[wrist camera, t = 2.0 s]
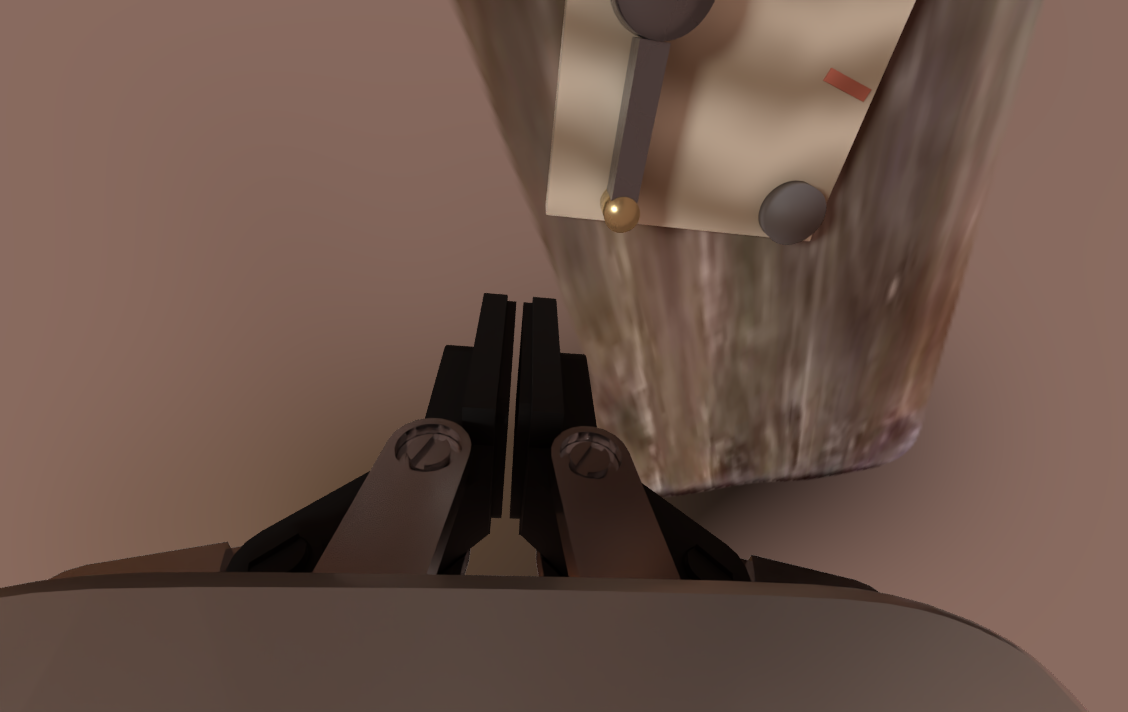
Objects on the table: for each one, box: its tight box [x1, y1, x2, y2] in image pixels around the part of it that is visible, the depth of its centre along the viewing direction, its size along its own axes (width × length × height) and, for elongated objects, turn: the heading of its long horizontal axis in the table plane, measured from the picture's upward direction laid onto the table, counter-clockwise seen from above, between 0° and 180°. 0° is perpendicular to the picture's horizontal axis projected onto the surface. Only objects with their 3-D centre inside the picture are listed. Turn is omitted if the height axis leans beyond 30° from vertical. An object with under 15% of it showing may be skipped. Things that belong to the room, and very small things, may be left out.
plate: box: [546, 0, 916, 245], centre depth 27 cm, size 20×19×3 cm
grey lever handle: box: [600, 0, 715, 233], centre depth 26 cm, size 15×5×3 cm, turn 173°
